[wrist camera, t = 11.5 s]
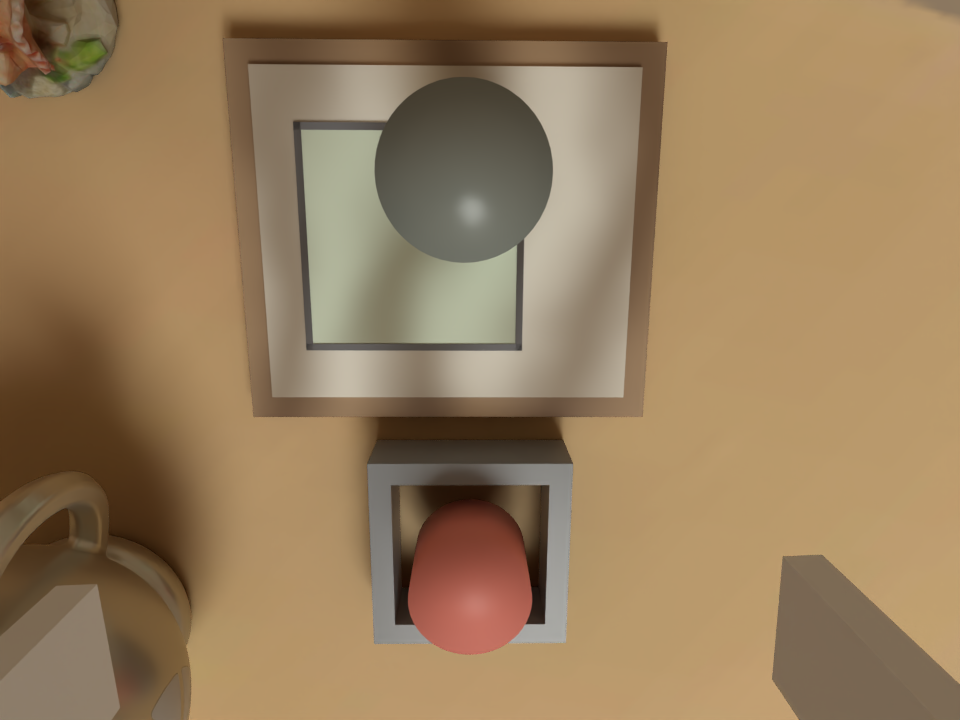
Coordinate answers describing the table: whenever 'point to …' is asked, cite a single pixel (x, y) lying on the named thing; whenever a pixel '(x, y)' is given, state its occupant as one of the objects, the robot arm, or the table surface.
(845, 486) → the table surface
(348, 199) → the picture board
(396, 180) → the cylinder
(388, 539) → the button housing
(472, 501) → the button
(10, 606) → the teapot
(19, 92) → the figurine
